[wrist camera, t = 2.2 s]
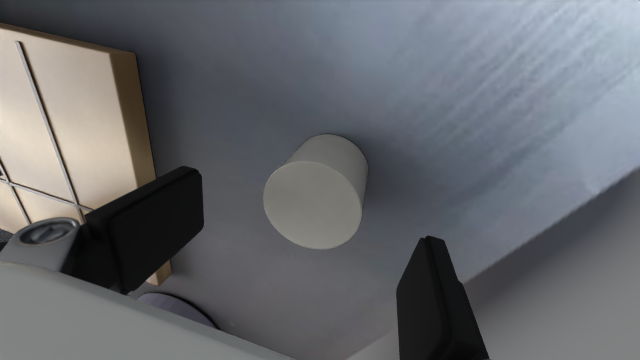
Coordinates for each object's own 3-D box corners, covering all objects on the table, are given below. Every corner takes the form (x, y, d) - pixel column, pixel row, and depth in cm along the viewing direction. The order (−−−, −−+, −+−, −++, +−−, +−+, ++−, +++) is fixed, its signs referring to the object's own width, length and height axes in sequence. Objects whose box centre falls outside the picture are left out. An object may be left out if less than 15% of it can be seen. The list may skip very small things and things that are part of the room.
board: (-175, -18, 17) (-228, -25, 16) (135, 53, 14) (105, 52, 12) (-39, 198, 26) (-66, 207, 24) (172, 273, 22) (156, 289, 21)
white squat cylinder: (297, 125, 13) (265, 149, 10) (378, 145, 13) (375, 178, 9) (288, 193, 15) (259, 233, 12) (357, 213, 15) (348, 261, 11)
